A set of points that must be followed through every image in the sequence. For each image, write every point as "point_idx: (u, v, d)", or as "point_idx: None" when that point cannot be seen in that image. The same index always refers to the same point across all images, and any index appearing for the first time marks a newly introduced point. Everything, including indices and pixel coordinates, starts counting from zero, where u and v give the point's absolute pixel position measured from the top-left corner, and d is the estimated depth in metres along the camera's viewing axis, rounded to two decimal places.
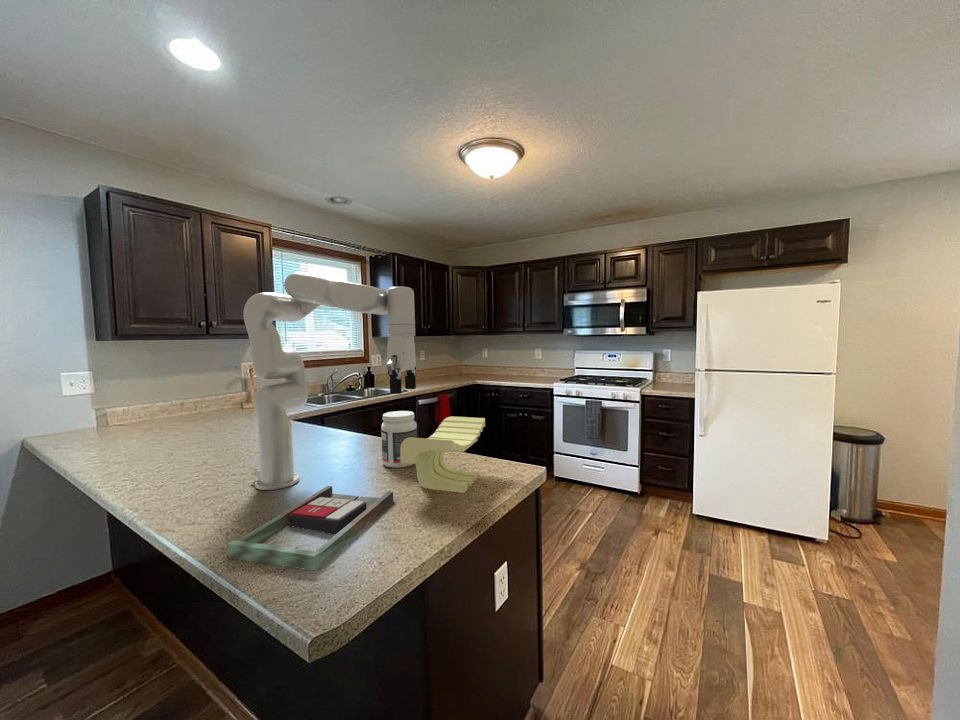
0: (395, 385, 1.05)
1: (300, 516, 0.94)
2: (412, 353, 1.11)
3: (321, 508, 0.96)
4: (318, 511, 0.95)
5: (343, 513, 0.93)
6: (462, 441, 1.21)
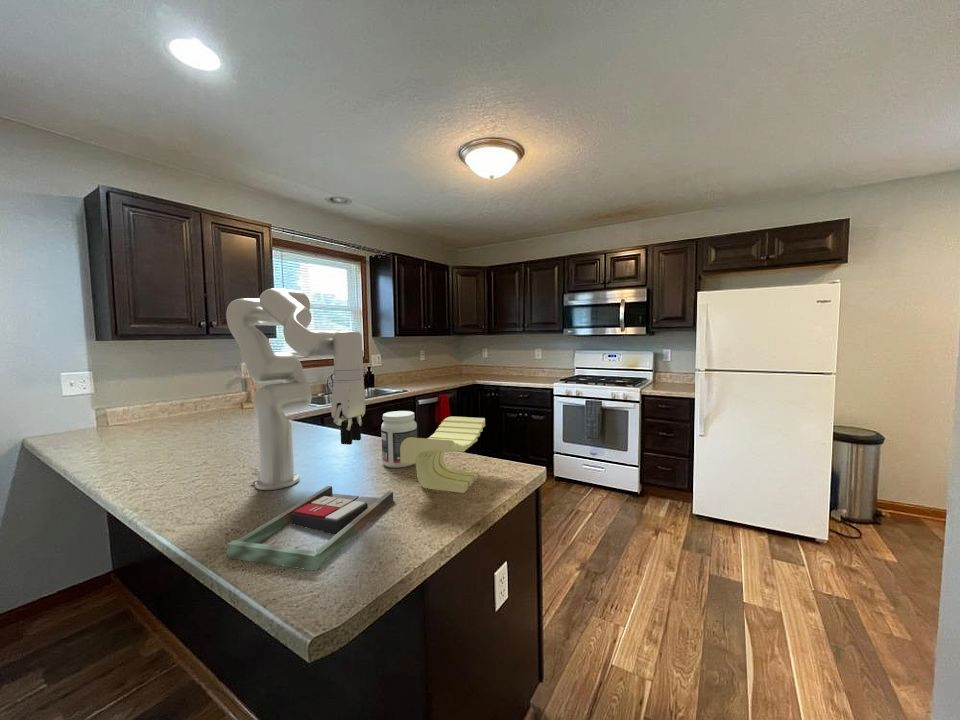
0: (345, 436, 1.04)
1: (301, 514, 0.95)
2: (360, 398, 1.07)
3: (323, 507, 0.97)
4: (319, 510, 0.95)
5: (342, 513, 0.93)
6: (462, 441, 1.21)
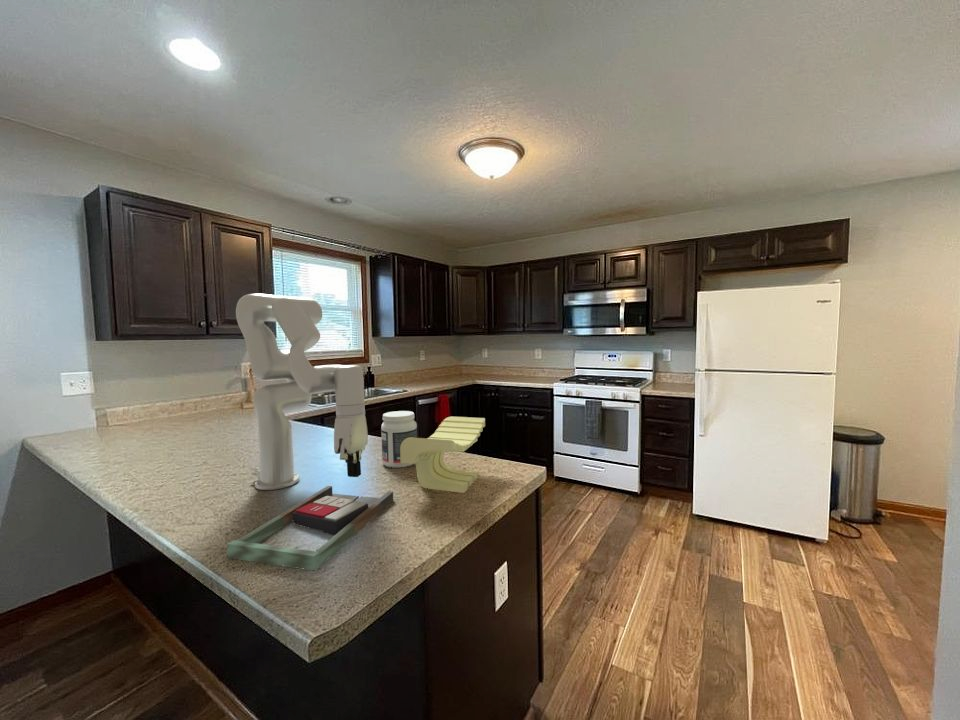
0: (352, 469, 1.05)
1: (302, 513, 0.95)
2: (362, 432, 1.07)
3: (323, 507, 0.97)
4: (319, 510, 0.95)
5: (342, 514, 0.93)
6: (462, 441, 1.21)
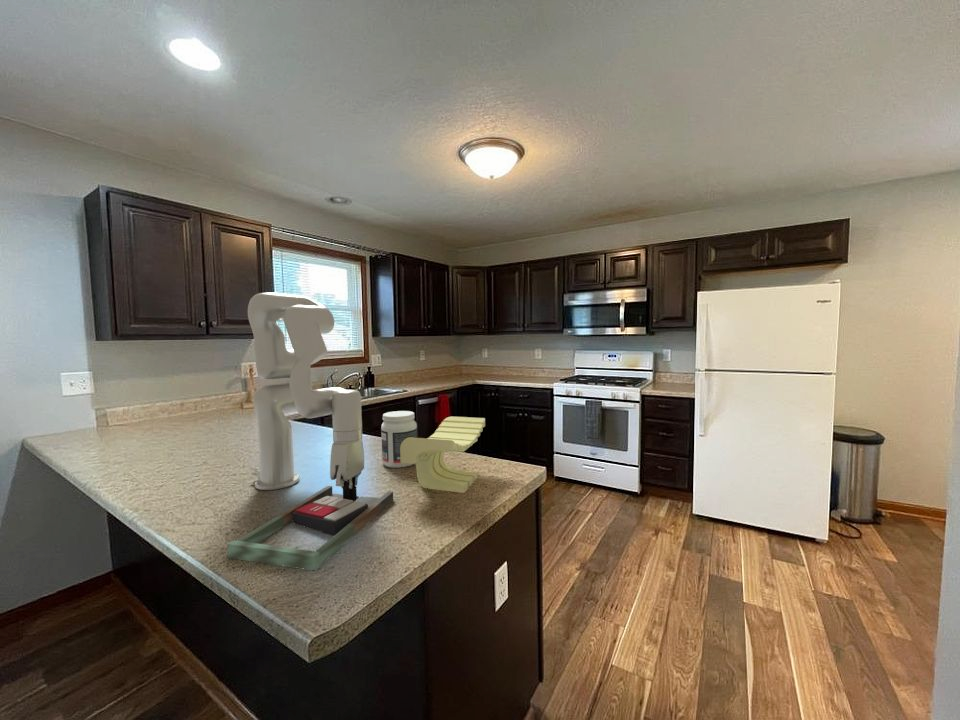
0: (348, 495, 1.05)
1: (302, 513, 0.95)
2: (359, 457, 1.07)
3: (323, 507, 0.97)
4: (319, 510, 0.95)
5: (341, 514, 0.93)
6: (462, 441, 1.21)
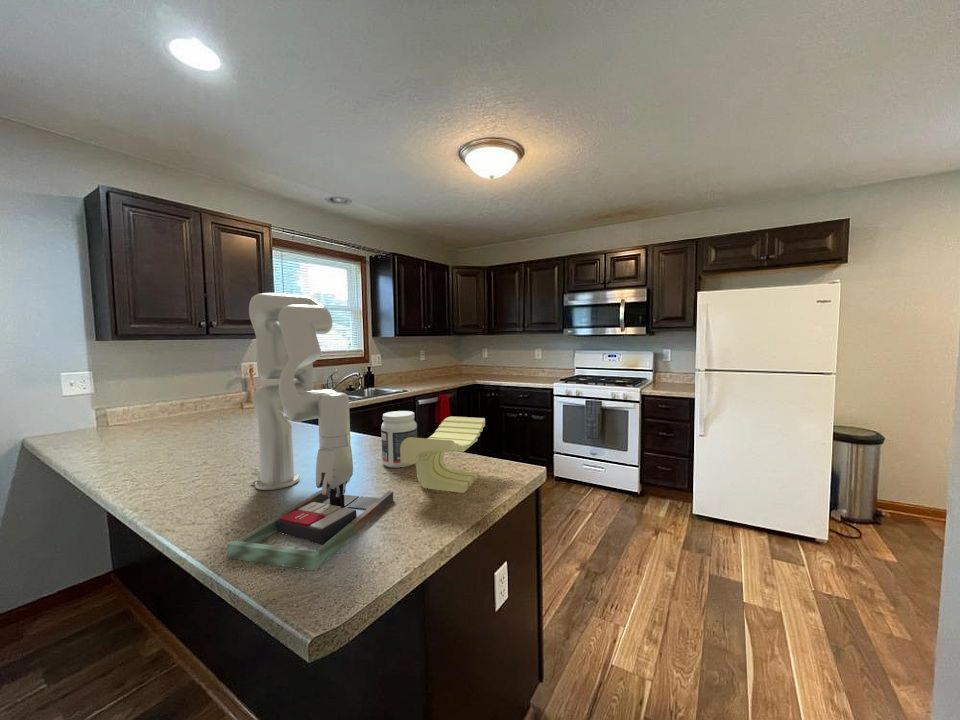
0: (335, 503, 0.99)
1: (287, 522, 0.91)
2: (347, 463, 1.01)
3: (309, 514, 0.93)
4: (305, 518, 0.91)
5: (328, 521, 0.89)
6: (462, 441, 1.21)
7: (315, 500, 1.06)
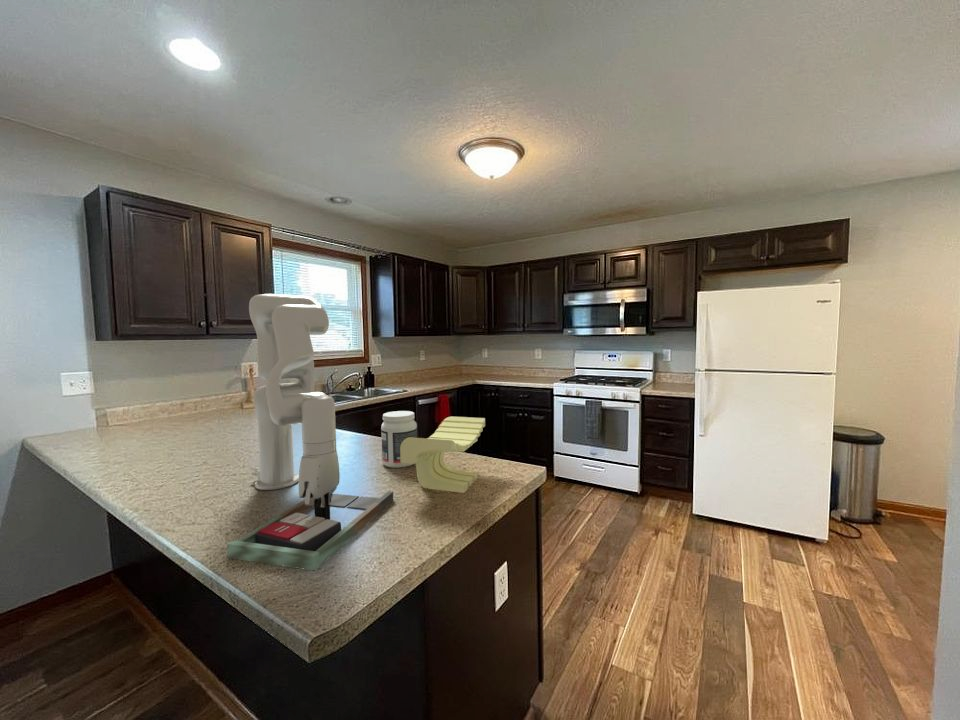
0: (319, 514, 0.93)
1: (266, 535, 0.85)
2: (333, 471, 0.95)
3: (290, 527, 0.87)
4: (285, 531, 0.85)
5: (310, 535, 0.83)
6: (462, 441, 1.21)
7: None
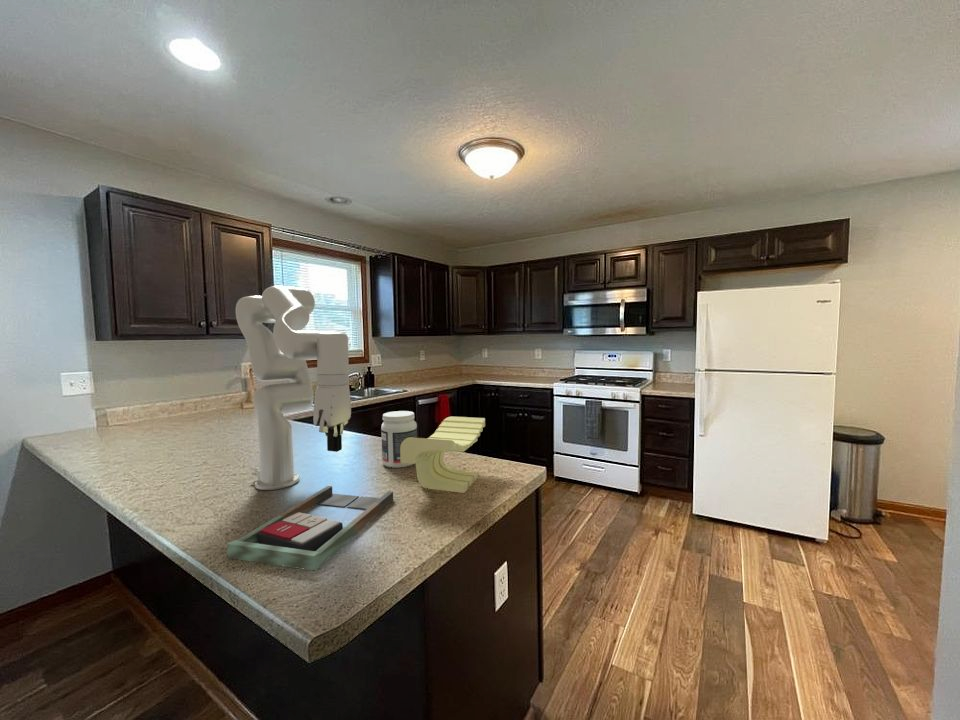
0: (332, 443, 0.99)
1: (268, 534, 0.85)
2: (345, 404, 1.01)
3: (292, 527, 0.87)
4: (287, 530, 0.85)
5: (311, 535, 0.83)
6: (462, 441, 1.21)
7: (315, 500, 1.06)
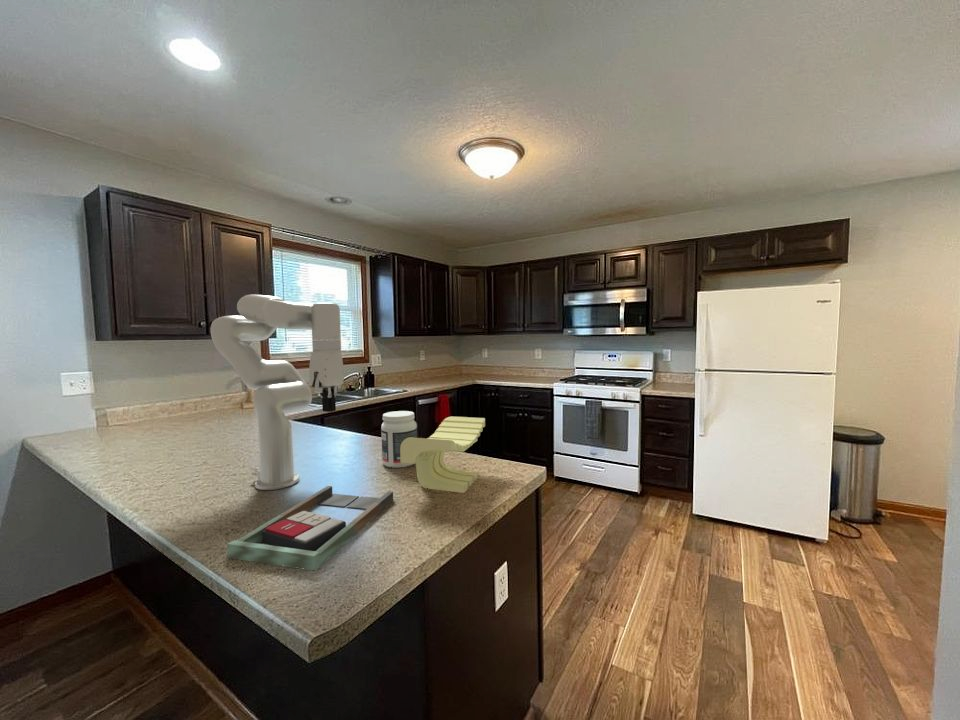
0: (327, 403, 1.09)
1: (272, 532, 0.86)
2: (338, 369, 1.11)
3: (296, 525, 0.88)
4: (291, 529, 0.86)
5: (314, 534, 0.83)
6: (462, 441, 1.21)
7: (315, 500, 1.06)
